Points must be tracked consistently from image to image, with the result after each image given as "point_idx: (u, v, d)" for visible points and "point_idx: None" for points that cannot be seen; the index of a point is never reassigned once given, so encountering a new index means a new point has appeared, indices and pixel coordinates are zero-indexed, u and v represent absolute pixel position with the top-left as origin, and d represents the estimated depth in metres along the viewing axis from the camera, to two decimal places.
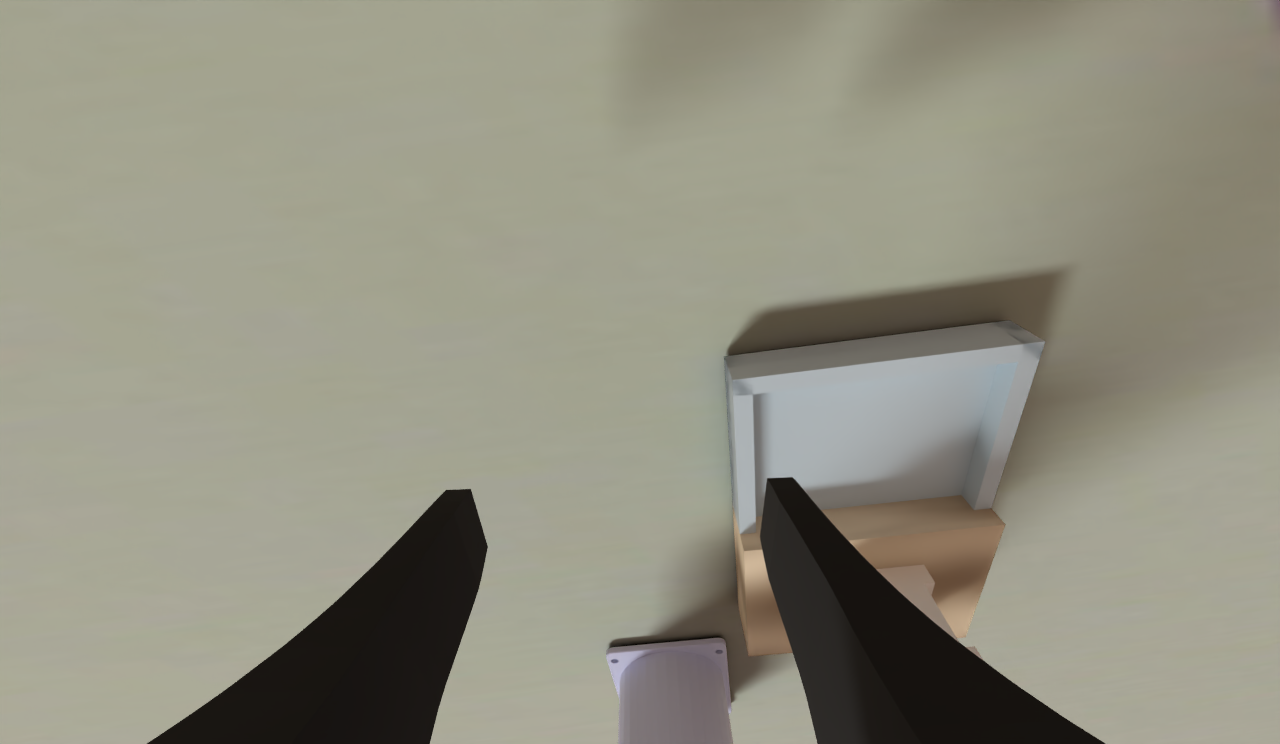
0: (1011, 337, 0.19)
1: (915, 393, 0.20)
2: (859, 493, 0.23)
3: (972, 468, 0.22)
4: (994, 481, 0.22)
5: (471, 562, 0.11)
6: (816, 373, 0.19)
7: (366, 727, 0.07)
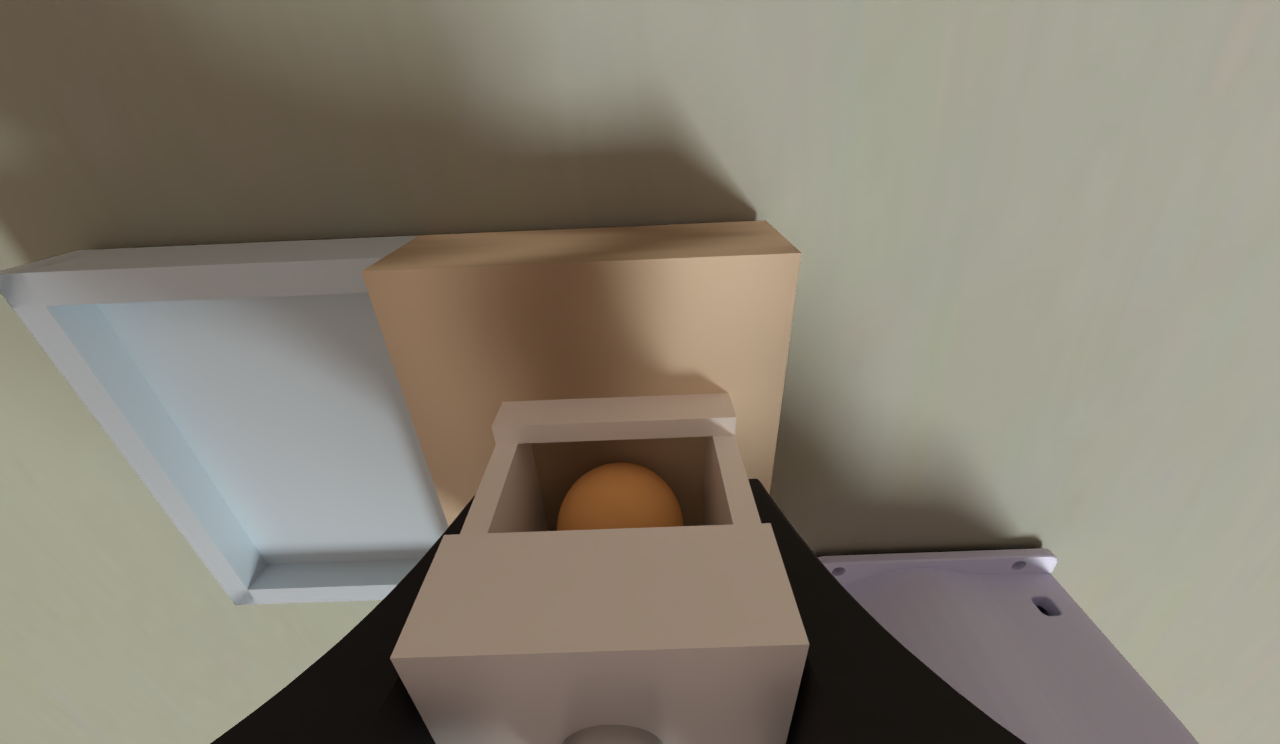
0: None
1: (216, 396, 0.13)
2: None
3: None
4: (309, 271, 0.11)
5: None
6: (192, 538, 0.15)
7: (420, 725, 0.07)
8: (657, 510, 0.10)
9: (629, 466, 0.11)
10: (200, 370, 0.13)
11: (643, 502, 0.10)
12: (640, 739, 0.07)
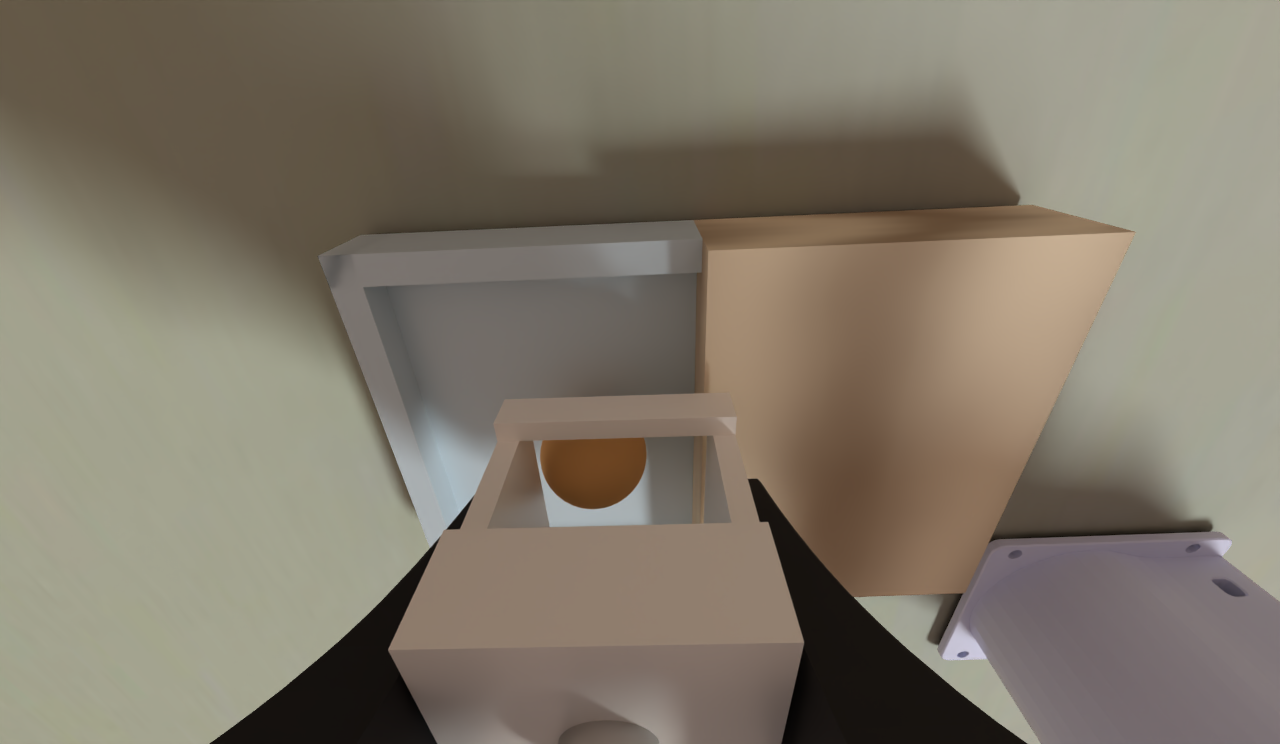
0: None
1: (472, 377, 0.14)
2: None
3: None
4: (626, 252, 0.11)
5: None
6: (425, 518, 0.15)
7: (419, 725, 0.07)
8: None
9: None
10: (464, 352, 0.13)
11: None
12: (635, 735, 0.07)
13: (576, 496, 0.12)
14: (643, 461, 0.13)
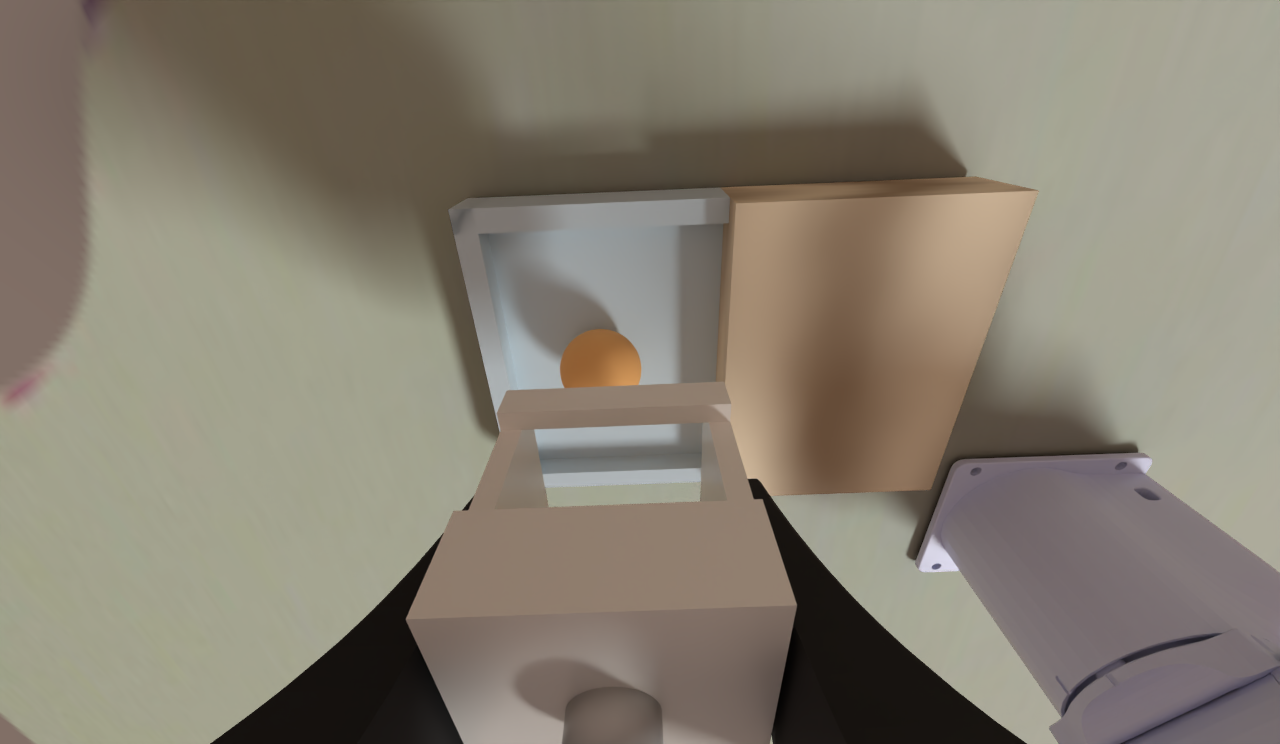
0: None
1: (547, 311, 0.18)
2: (696, 349, 0.19)
3: None
4: (674, 208, 0.15)
5: None
6: None
7: (419, 725, 0.07)
8: (613, 353, 0.16)
9: (609, 330, 0.17)
10: (543, 290, 0.18)
11: (605, 346, 0.16)
12: (639, 700, 0.07)
13: (563, 382, 0.17)
14: None
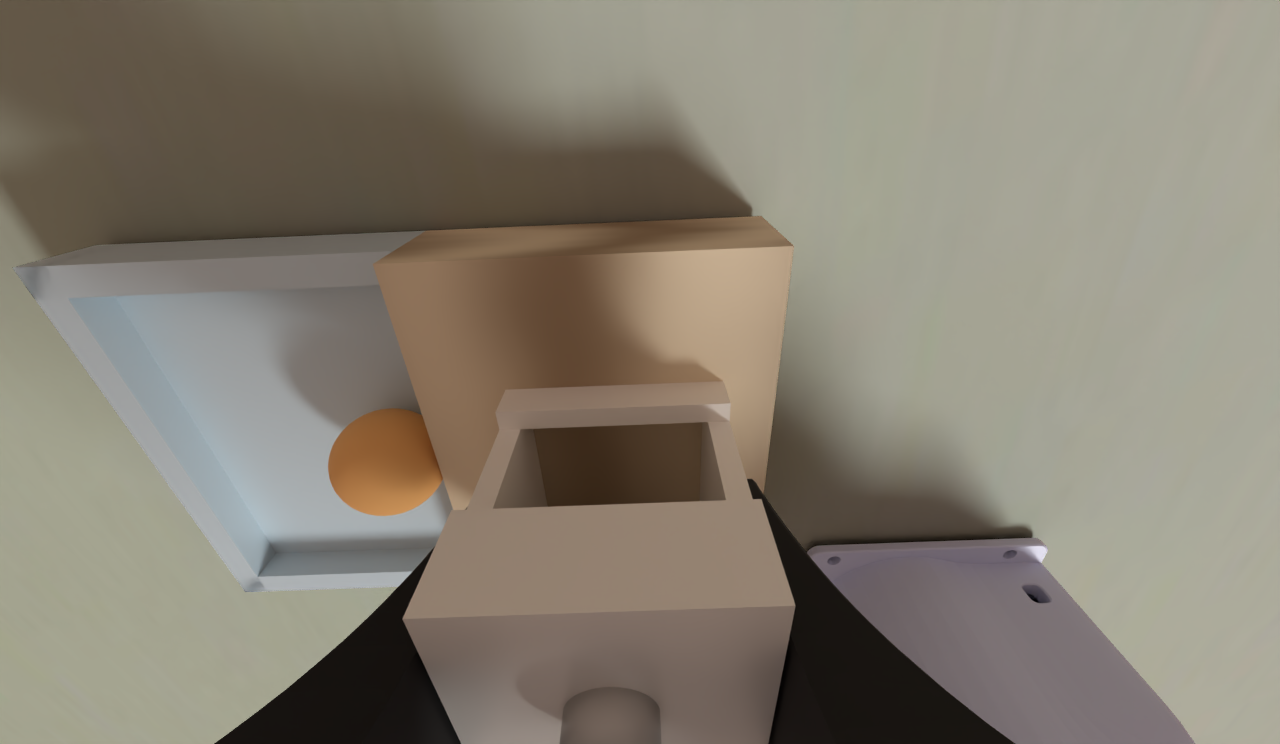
0: None
1: (229, 386, 0.14)
2: None
3: None
4: (321, 264, 0.11)
5: None
6: (205, 526, 0.15)
7: (423, 725, 0.07)
8: (412, 411, 0.14)
9: (359, 418, 0.13)
10: (214, 361, 0.14)
11: (404, 412, 0.13)
12: (637, 701, 0.07)
13: (411, 493, 0.13)
14: None
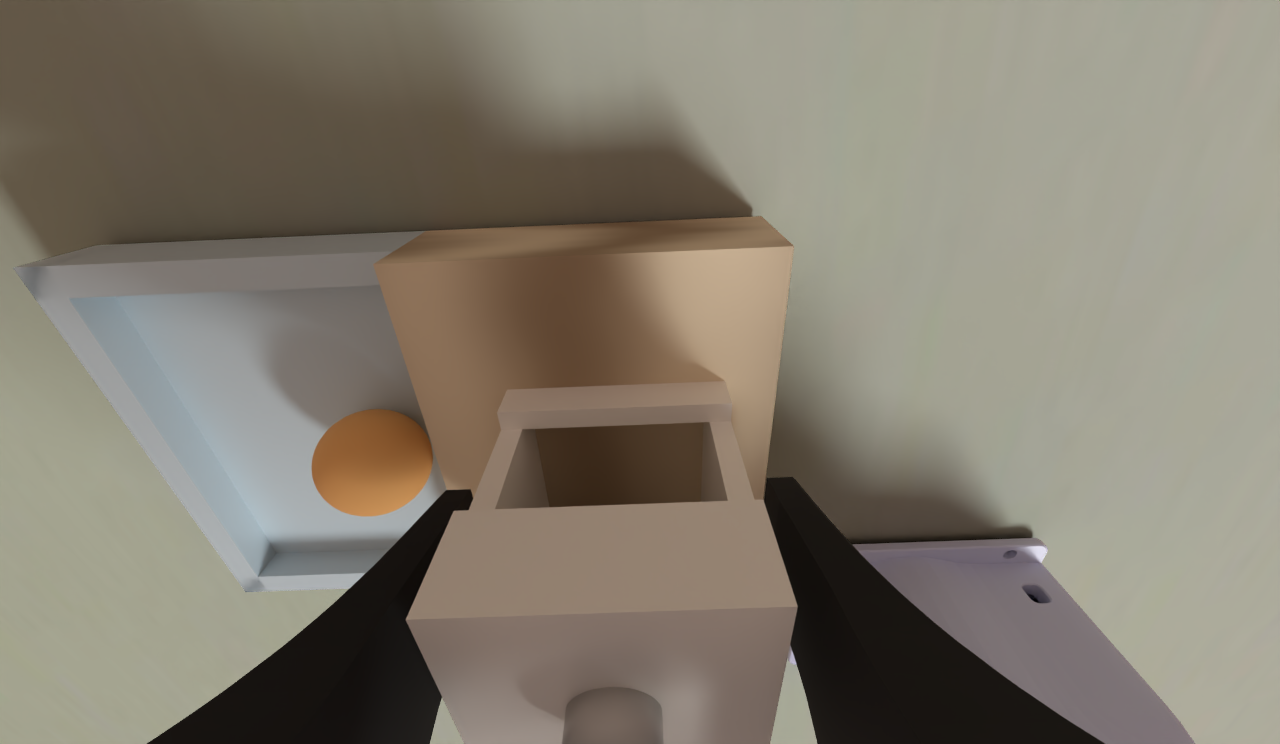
0: None
1: (229, 386, 0.14)
2: None
3: None
4: (322, 264, 0.11)
5: None
6: (205, 526, 0.15)
7: (366, 727, 0.07)
8: (401, 415, 0.13)
9: (349, 415, 0.13)
10: (214, 361, 0.14)
11: (389, 416, 0.13)
12: (640, 700, 0.07)
13: (376, 500, 0.12)
14: (429, 444, 0.14)
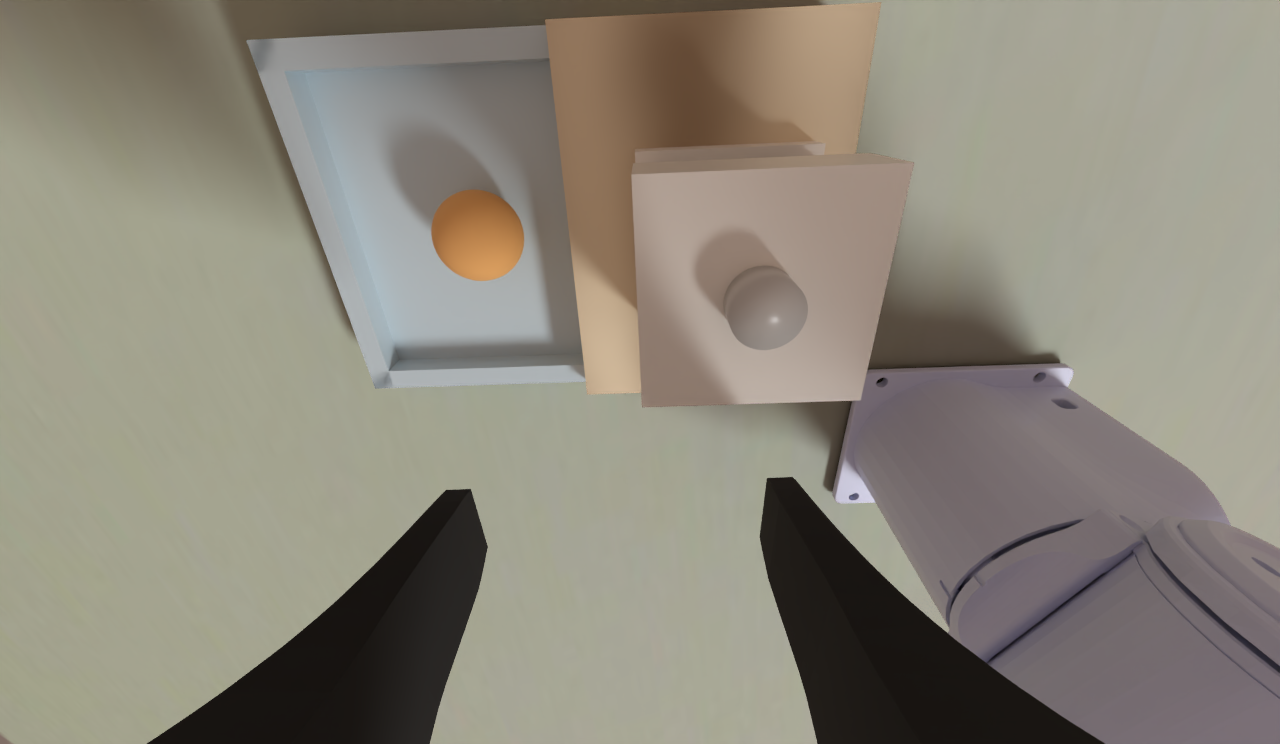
0: None
1: (386, 178, 0.17)
2: (554, 226, 0.17)
3: (495, 63, 0.15)
4: (492, 38, 0.14)
5: (471, 562, 0.11)
6: (353, 313, 0.18)
7: (366, 727, 0.07)
8: (502, 202, 0.16)
9: None
10: (378, 152, 0.16)
11: (491, 196, 0.15)
12: (785, 274, 0.10)
13: (453, 254, 0.15)
14: (514, 234, 0.16)
